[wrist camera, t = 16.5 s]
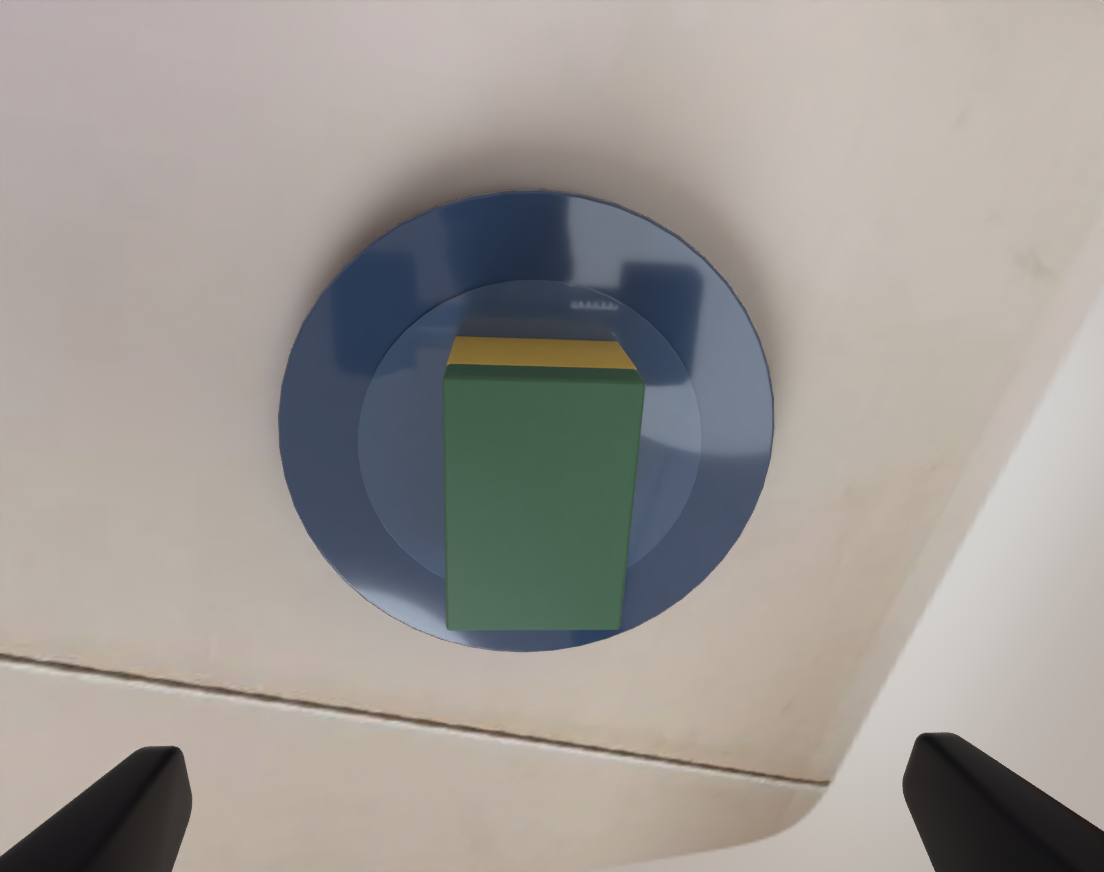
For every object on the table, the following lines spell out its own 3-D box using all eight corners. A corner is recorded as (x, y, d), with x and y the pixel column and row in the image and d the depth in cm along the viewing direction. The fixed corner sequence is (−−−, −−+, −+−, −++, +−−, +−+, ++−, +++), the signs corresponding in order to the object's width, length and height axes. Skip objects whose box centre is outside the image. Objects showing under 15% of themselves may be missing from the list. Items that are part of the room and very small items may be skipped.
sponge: (599, 550, 18) (620, 631, 15) (456, 550, 18) (445, 632, 15) (618, 340, 16) (646, 381, 13) (454, 335, 16) (442, 376, 12)
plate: (723, 627, 21) (736, 653, 20) (313, 628, 20) (301, 656, 19) (798, 201, 16) (820, 203, 15) (265, 174, 15) (245, 174, 14)
